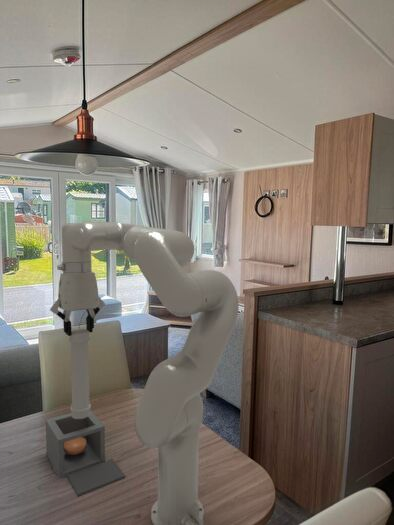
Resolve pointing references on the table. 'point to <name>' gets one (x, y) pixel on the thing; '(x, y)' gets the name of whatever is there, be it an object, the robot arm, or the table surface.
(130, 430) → the table surface
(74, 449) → the button
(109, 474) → the mat
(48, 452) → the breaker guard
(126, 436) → the table surface
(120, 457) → the table surface
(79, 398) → the grey cylindrical piece
